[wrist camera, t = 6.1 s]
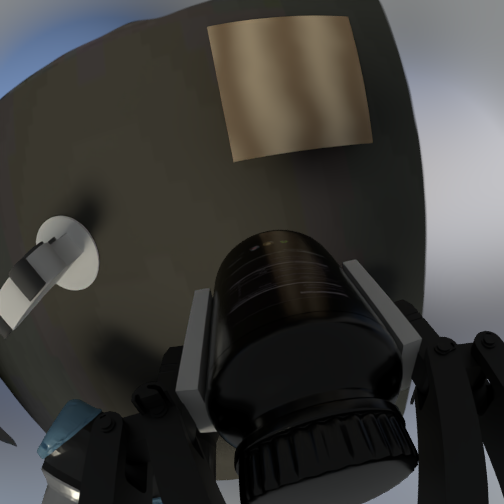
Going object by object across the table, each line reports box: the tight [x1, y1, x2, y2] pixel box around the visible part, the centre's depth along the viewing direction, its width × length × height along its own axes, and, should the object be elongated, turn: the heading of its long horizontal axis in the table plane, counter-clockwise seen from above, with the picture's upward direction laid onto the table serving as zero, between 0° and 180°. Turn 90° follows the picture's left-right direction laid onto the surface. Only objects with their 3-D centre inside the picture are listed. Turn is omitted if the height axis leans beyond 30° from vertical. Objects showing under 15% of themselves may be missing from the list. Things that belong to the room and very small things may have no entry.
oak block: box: [207, 16, 373, 162], centre depth 26 cm, size 15×15×4 cm
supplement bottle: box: [205, 230, 419, 504], centre depth 11 cm, size 7×7×12 cm
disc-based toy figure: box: [0, 216, 100, 339], centre depth 28 cm, size 12×11×15 cm
